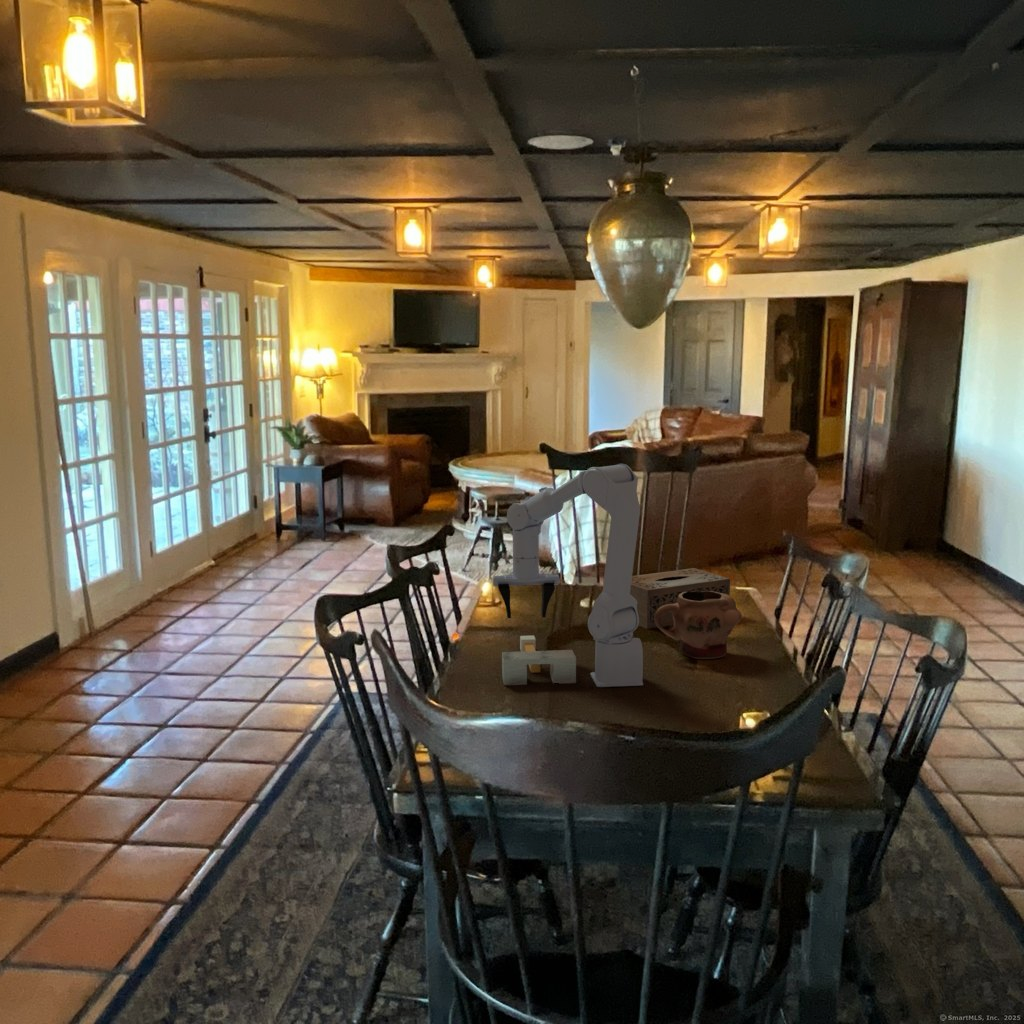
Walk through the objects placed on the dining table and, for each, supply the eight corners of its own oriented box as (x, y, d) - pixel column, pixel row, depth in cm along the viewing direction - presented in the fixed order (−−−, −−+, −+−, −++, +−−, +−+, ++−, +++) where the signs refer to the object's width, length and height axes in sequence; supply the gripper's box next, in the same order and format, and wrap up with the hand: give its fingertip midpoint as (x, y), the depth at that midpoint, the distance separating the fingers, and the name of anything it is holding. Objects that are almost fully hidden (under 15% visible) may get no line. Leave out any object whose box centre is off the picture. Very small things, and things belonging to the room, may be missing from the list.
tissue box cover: (646, 629, 226) (647, 590, 224) (613, 616, 238) (614, 578, 237) (728, 616, 237) (730, 578, 236) (693, 604, 250) (694, 568, 248)
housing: (571, 674, 192) (572, 649, 191) (575, 682, 187) (575, 657, 186) (502, 677, 191) (502, 652, 190) (504, 685, 186) (504, 659, 185)
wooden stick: (543, 672, 194) (543, 658, 194) (528, 672, 194) (528, 659, 193) (534, 648, 211) (533, 635, 210) (520, 648, 210) (520, 635, 210)
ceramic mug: (667, 667, 197) (668, 604, 195) (644, 650, 208) (645, 590, 206) (751, 659, 202) (753, 597, 200) (723, 643, 214) (725, 584, 211)
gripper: (556, 552, 207) (556, 611, 209) (491, 553, 206) (492, 612, 208) (560, 558, 200) (560, 619, 202) (493, 560, 199) (494, 621, 201)
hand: (526, 616), depth 205 cm, fingers open, 7 cm apart
